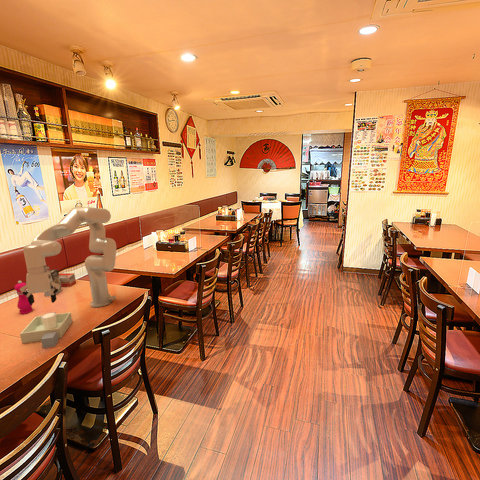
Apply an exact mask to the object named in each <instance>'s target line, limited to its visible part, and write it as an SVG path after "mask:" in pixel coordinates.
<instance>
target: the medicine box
mask: <svg viewBox="0 0 480 480" xmlns="http://www.w3.org/2000/svg"><path fill="white" fill-rule="evenodd" d="M59 277H60V283H61V288H70V287H72V286H74V285H75V284H77V283H76V282H77V279H76V276H75V273H74V272H73V273H72V272H69V273H65V272H63V273H62V272H61V273H59Z"/></svg>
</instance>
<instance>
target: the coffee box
mask: <svg viewBox="0 0 480 480" xmlns="http://www.w3.org/2000/svg"><path fill="white" fill-rule="evenodd" d="M48 270H49V272H50V274H51V277H52V280H53V283H56V284H59V285H60V288H59V290H58V291H57V292H56V295H57V294H59V293H61V292H62V291H63V290H62V288H63V287H61V283H60V277H59V274H60V273H59V269H58V268H57V269H48ZM53 289H54V290H55V289H56V287H54V288H53ZM43 293H44V296H45V297H51V295H52V294H50V293H49V292H43Z"/></svg>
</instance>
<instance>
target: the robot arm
mask: <svg viewBox="0 0 480 480" xmlns="http://www.w3.org/2000/svg"><path fill="white" fill-rule="evenodd" d="M111 216H112V215H111V211H110V210H109V209H107V208H101V207H100V208H99V207H92V206H91V207H90V206H75V207H73V208H71V209H70V210H69V211H68V212H67V213H66V214H65V216H64V217H62V218H61V220H60V221H59V222H58V223H55V224H53V225H52V226H50V227H48V228H47V229H45V230H43V231H41V232H40V233H39V234H37V236H35V237H34V239H33V240H31V243H29V244H26V245H24V246H23V255H24V260H25V264H26V271H27V272H26V278H25V280H26V281H25V283H26V285H25V286H24V287H22V288H20V291H21V292H22V293H23V294H24V295H26V297H28V302H29V303H30V305H32V306H33V304H34V303H35V297H34V294H38V293H39V294H41V293H44V292H49V293H50V294H52V295H51V296H50V301H51V303H52V304H54V303H55V302H56V301H57V294H56V292H57V291H58V290H59V288H60V285H59V284H56V283H53V280H52V277H51V274H50V272H49V270H50V266H49V265H48V266H47V263H46V258H47V257H48V258H49V257H54V256H57V255H59V254H60V253H61V251H62V249H63V247H62V244H61V243H60V242H58V241H56V240H57V239H58V240H59V239H60V238H65V237H68V236H71V235H72V234H74V232H75V231H77V229H78V228H79V227H80V226H81V224H83V223H86V224H87V226H88V227H89V243H88V249H89V251H90V252H91V253H94V254H91V255H89V256H87V257H86V258H85V260H84V267H85V269H86V272H87V275H88V279H89V287H90V293H91V299H92V301H91V302H90V303H89V304H90V307H92V308H102V307H106V306H108V305H110V304H111V303H112V302H113V300H117V296H116V295H111V294H110V293H109V287H108V280H107V275H106V272H111V271H113V270H114V268H115V266H116V259H117V243H116V241H115V240H114V239H113V238H110V237H106V228H105V226H104V224H106V223H109V221H110V220H111V218H112V217H111ZM101 254H103V255H101ZM54 287H56V289H55V290H54V289H53V288H54ZM26 288H27V289H26ZM25 289H26V290H27V291H26V290H25Z"/></svg>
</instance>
